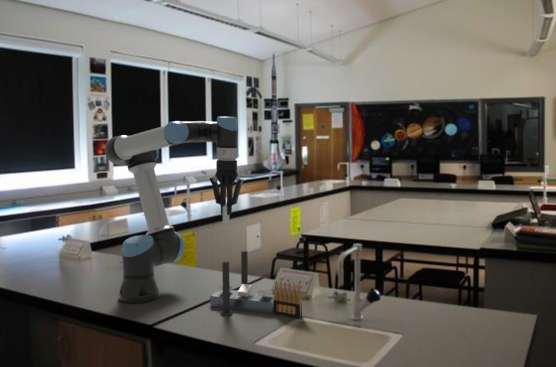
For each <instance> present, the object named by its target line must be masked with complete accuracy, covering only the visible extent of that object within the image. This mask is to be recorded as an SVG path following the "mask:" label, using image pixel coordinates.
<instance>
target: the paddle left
mask: <svg viewBox="0 0 556 367" xmlns="http://www.w3.org/2000/svg"><path fill="white" fill-rule="evenodd" d="M218 290H222V291H223V284H218V285H217V291H218ZM232 290H233V286H232V285H230V291H232Z"/></svg>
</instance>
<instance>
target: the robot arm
mask: <svg viewBox="0 0 556 367" xmlns="http://www.w3.org/2000/svg"><path fill="white" fill-rule="evenodd" d="M238 127H239V126H238V119H237V117H235V116H217V118H216V121H207V120H206V121H205V120H197V121H196V120H195V121H186V120H185V121H180V120H175V121H169V122H168V123H166V125H163V126H160V127H156V128H153V129H152V128H151V129H149V130H145V131H142V132H138V133H135V134H132V135H124V134H123V135H118V136H113V137H111V138H109V139H108V140H107V142H106V143H105V146H104V154H105V157H106V158H107V160H108V161H110V162H111V163H112V164H114V165H118V166H126V167H127V171H128V172H130V173H131V174H133V177H134V178H133V179H134V180H135V185H136V188H137V193H138V197H139V200H140V203H141V207H142V212H143V215H144V219H145V223H146V227H147V232H146V234H141V235H135V236H131V237H129V238H127V239H125V240H124V241H123V242H122V247H121V249H122V251H121V256H122V274H123V276H122V282H121V286H120V289H119V292H118V298H119V301H121V302H124V303H127V304H128V303H129V304H141V303H149V302H151V301H154V300H157V299H158V298H159V296H160V289H159V286H158V284H157V281H156V278H155V267H158V266H163V265H165V264H170V263H173V262H175V261H176V262H177V261H178V260H179V259H180V258H182V256H183V254H184V251H185V241H184V238H183V237H182V235H181V234H180V233H178V232H176V231H175V227H174V226H172V225H171V224H170V222H169V219H168V215H167V212H166V211H167V210H166V209H165V208H166V207H165V204H164V201H163V197H162V193H161V190H160V186H159V182H158V179H157V175H156V171H155V168H156V166H157V160H158V159H159V154H160V149H163V148H168V147H171V146H176V145H180V144H185V143H204V142H205V143H216V159H217V160H216V164H215V165H216V166H215V167H216V168H215V169H216V171H215V175H214V176H212V177H210V178H209V181H210V183H211V185H212V191H213V196H214V201H215V203H216V204H218V205H219V206H220V215H222V224H223V225H227V224H230V215H232V212H233V206H235V205H236V204H237V203H238V200H239V195H240V191H241V188H242V185H243V183H244V181H245V180H244V178H240V177H239V174H238V160H236V159H238V134H239V128H238ZM234 183H236V184H235V186H234ZM233 187H234V189H233ZM233 190H234V191H233Z"/></svg>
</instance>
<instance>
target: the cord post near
mask: <svg viewBox="0 0 556 367" xmlns="http://www.w3.org/2000/svg"><path fill="white" fill-rule="evenodd" d="M221 264H222V266H221V268H222V270H221V271H222V285H223V308H222V310H221V311H220V316H222V317H229V316H232V315H233V310H232V309H230V286H231V285H230V261H228V260H226V261H222V262H221Z"/></svg>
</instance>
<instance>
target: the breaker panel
mask: <svg viewBox="0 0 556 367" xmlns="http://www.w3.org/2000/svg"><path fill="white" fill-rule="evenodd" d="M273 301H274V293H272V296H271V295H260V294H258V292H253V291H251V292H250V293H249V295H248V297H245V296H238V290H233V289H232V291H230V310H238V311H246V312H252V313H253V312H254V313H263V314H264V313H265V314H270V315H273ZM209 304H210V305H209V306H210V307H212V308H220V309H221V308H222V309H223V291H222V290H218V289H217V290H216V291H215V292H214V293H213V294H211V295H209Z"/></svg>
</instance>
